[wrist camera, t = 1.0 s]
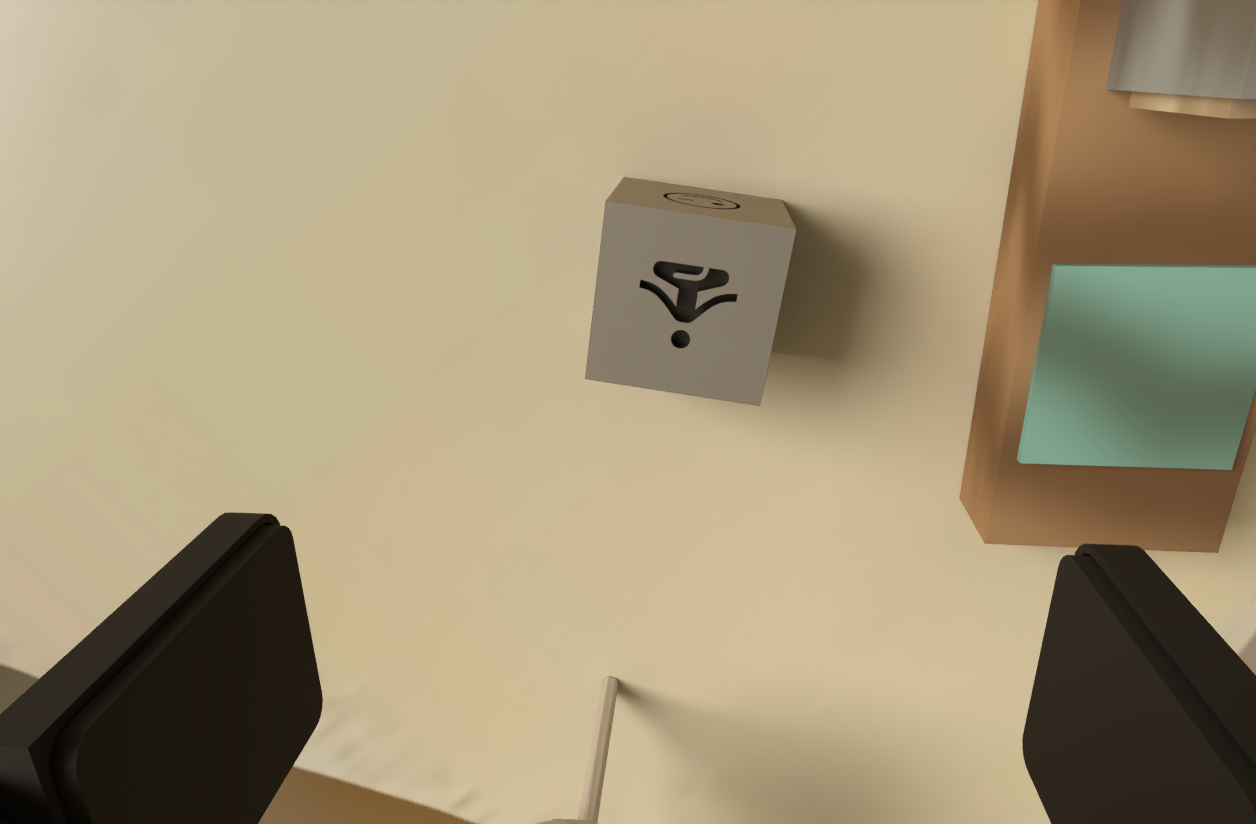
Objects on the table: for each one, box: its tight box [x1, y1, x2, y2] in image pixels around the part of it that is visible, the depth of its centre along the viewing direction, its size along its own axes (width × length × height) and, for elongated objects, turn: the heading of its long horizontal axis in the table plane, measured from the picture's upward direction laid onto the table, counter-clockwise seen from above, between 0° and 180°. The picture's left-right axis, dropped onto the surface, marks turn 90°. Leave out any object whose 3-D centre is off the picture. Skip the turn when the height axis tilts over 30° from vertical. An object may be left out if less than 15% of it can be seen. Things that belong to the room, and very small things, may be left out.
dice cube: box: [585, 177, 796, 406], centre depth 25 cm, size 5×5×5 cm
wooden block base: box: [960, 0, 1256, 553], centre depth 21 cm, size 20×7×9 cm, turn 1°
